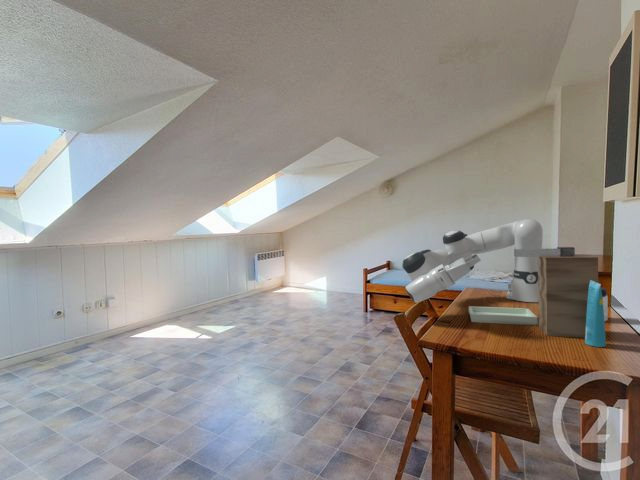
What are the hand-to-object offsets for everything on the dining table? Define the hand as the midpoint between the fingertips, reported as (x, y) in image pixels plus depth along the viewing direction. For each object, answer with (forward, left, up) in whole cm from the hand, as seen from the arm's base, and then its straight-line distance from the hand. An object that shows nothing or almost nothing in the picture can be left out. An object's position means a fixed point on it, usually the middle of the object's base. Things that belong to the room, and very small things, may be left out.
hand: (478, 257), depth 123 cm
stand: (+3, +26, -26) cm, 37 cm away
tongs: (+3, +20, 0) cm, 20 cm away
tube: (+14, +30, -26) cm, 42 cm away
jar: (-16, +40, -26) cm, 51 cm away
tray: (-10, +8, -26) cm, 29 cm away
